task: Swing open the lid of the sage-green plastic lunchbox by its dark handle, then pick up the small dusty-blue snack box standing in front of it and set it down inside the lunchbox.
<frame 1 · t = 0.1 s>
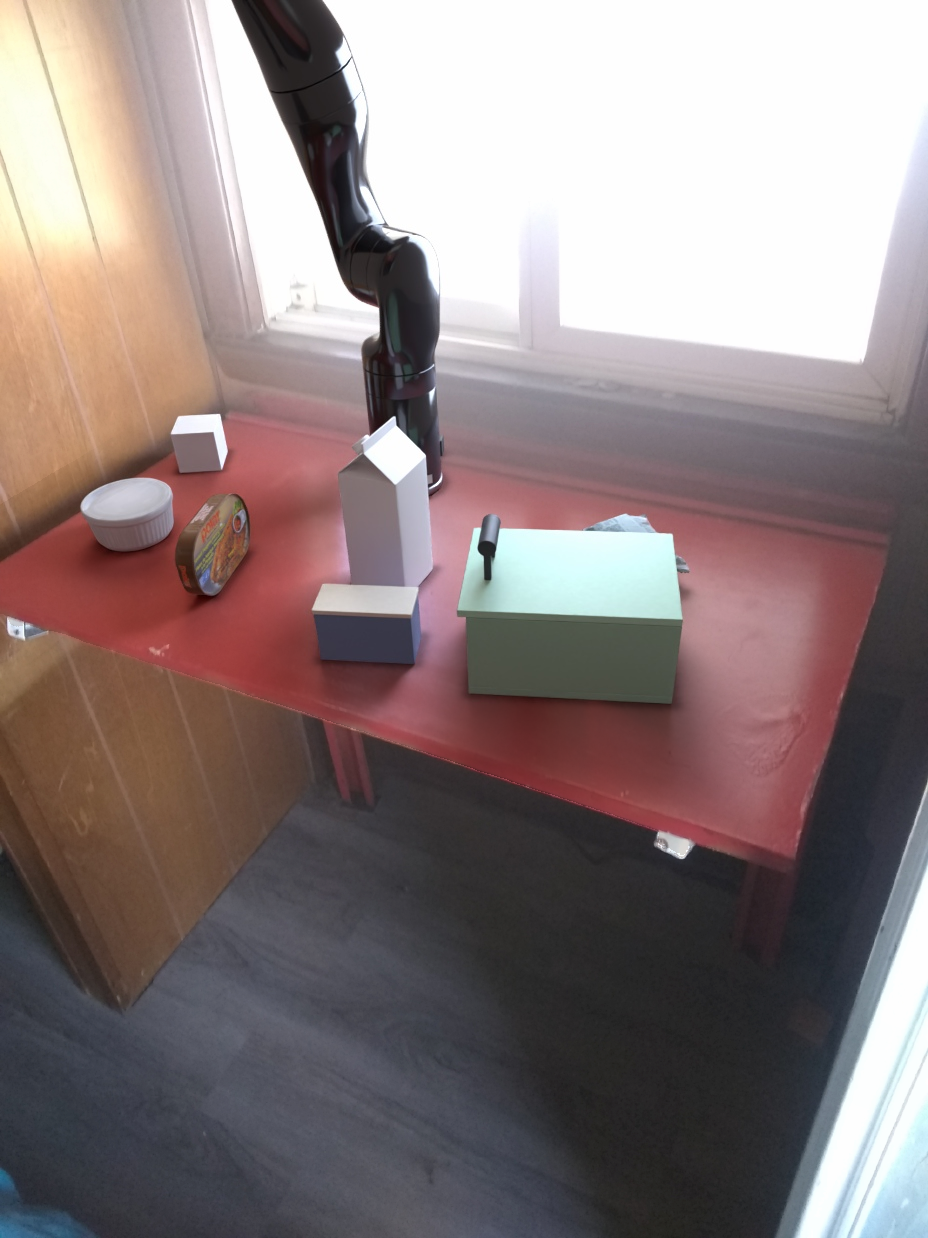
snack box: (371, 648, 98), on the table
white cube: (204, 463, 134), on the table
lunchbox: (570, 651, 96), on the table
lid: (571, 553, 89), point 12 cm above the table, hinge at 0.0°
tin: (221, 573, 111), on the table
ramekin: (136, 534, 118), on the table
packaged food: (633, 565, 109), on the table
milk carton: (393, 580, 108), on the table
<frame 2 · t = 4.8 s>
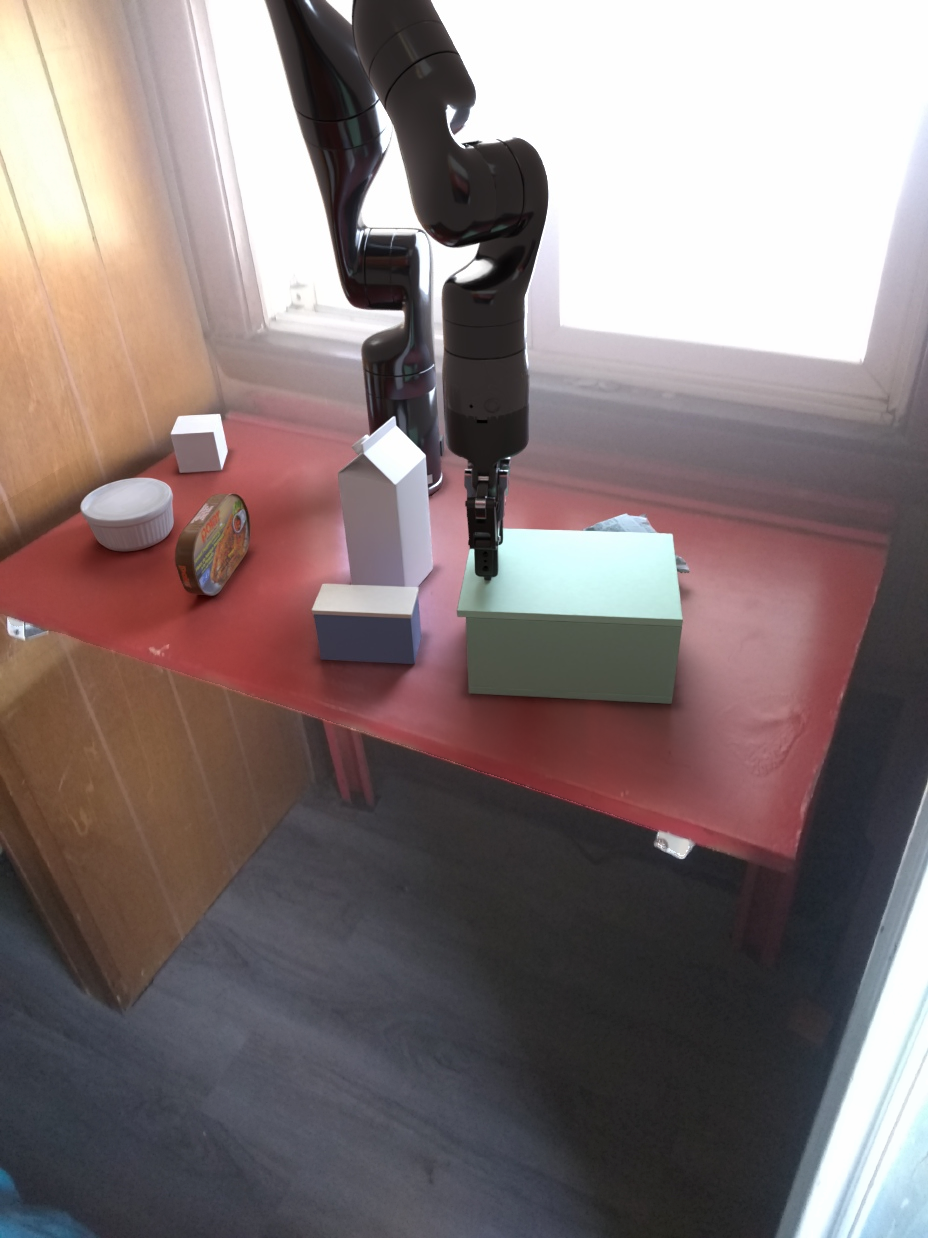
hand: (489, 558, 90), 11 cm above the table, tool pointing down, fingers closed on lid, 5 cm apart
lid: (571, 553, 89), point 12 cm above the table, hinge at 0.0°, touching gripper
everything else where it was.
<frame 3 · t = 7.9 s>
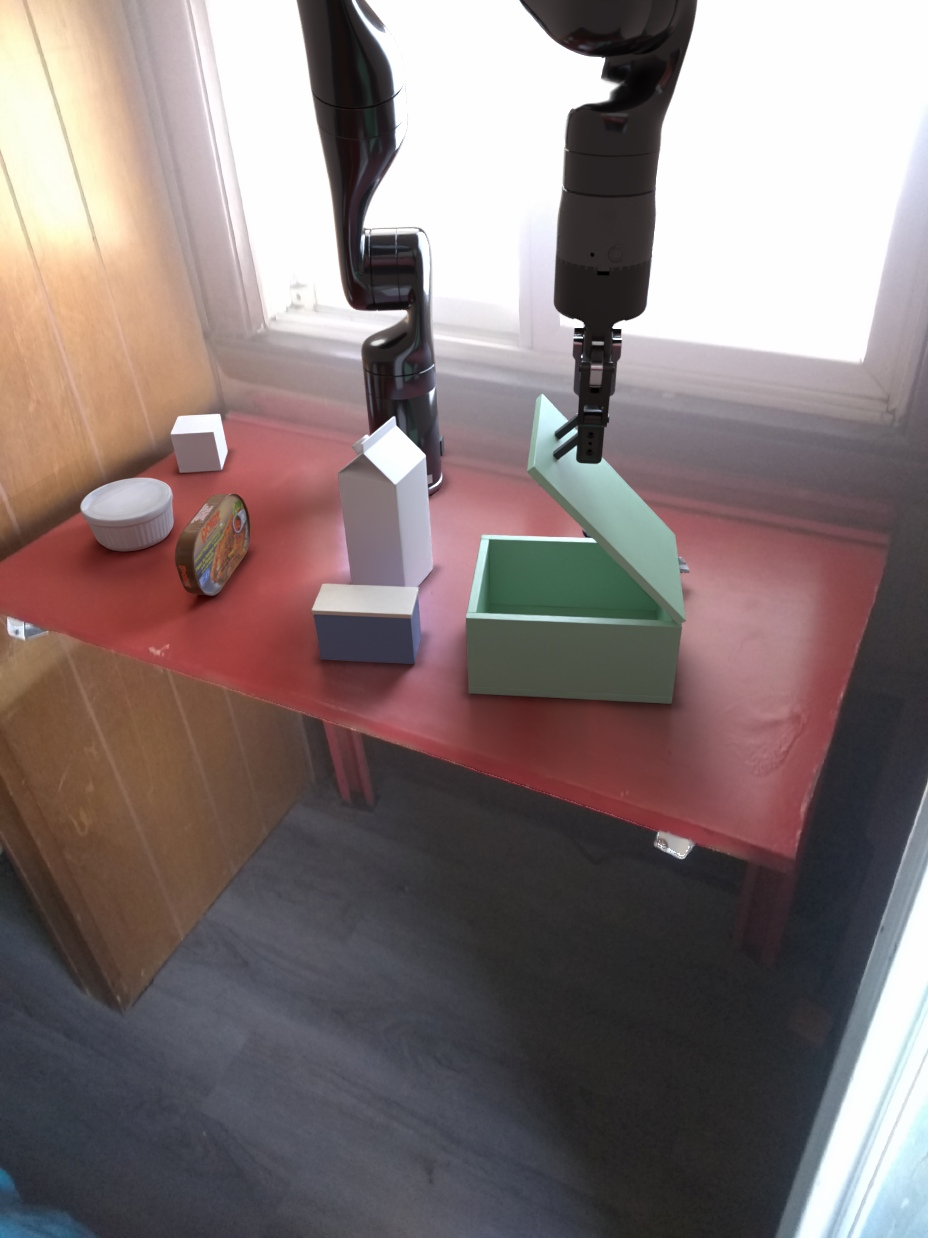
hand: (589, 445, 82), 24 cm above the table, tool pointing down, fingers closed on lid, 5 cm apart
lid: (628, 492, 84), point 19 cm above the table, hinge at 47.5°, touching gripper
everything else where it was.
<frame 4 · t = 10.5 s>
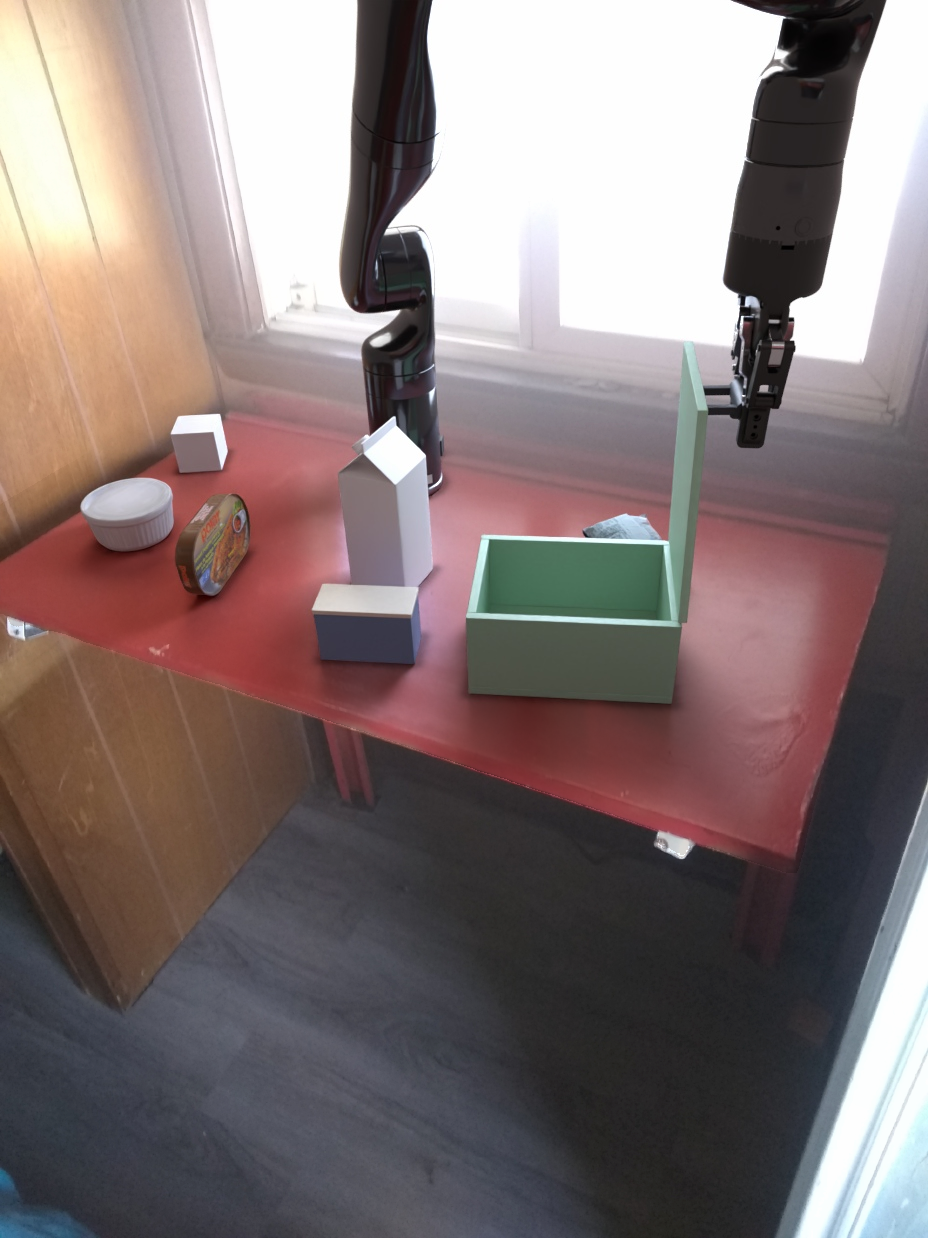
hand: (744, 430, 79), 25 cm above the table, tool pointing down, fingers closed on lid, 5 cm apart
lid: (711, 482, 83), point 20 cm above the table, hinge at 88.2°, touching gripper
everything else where it was.
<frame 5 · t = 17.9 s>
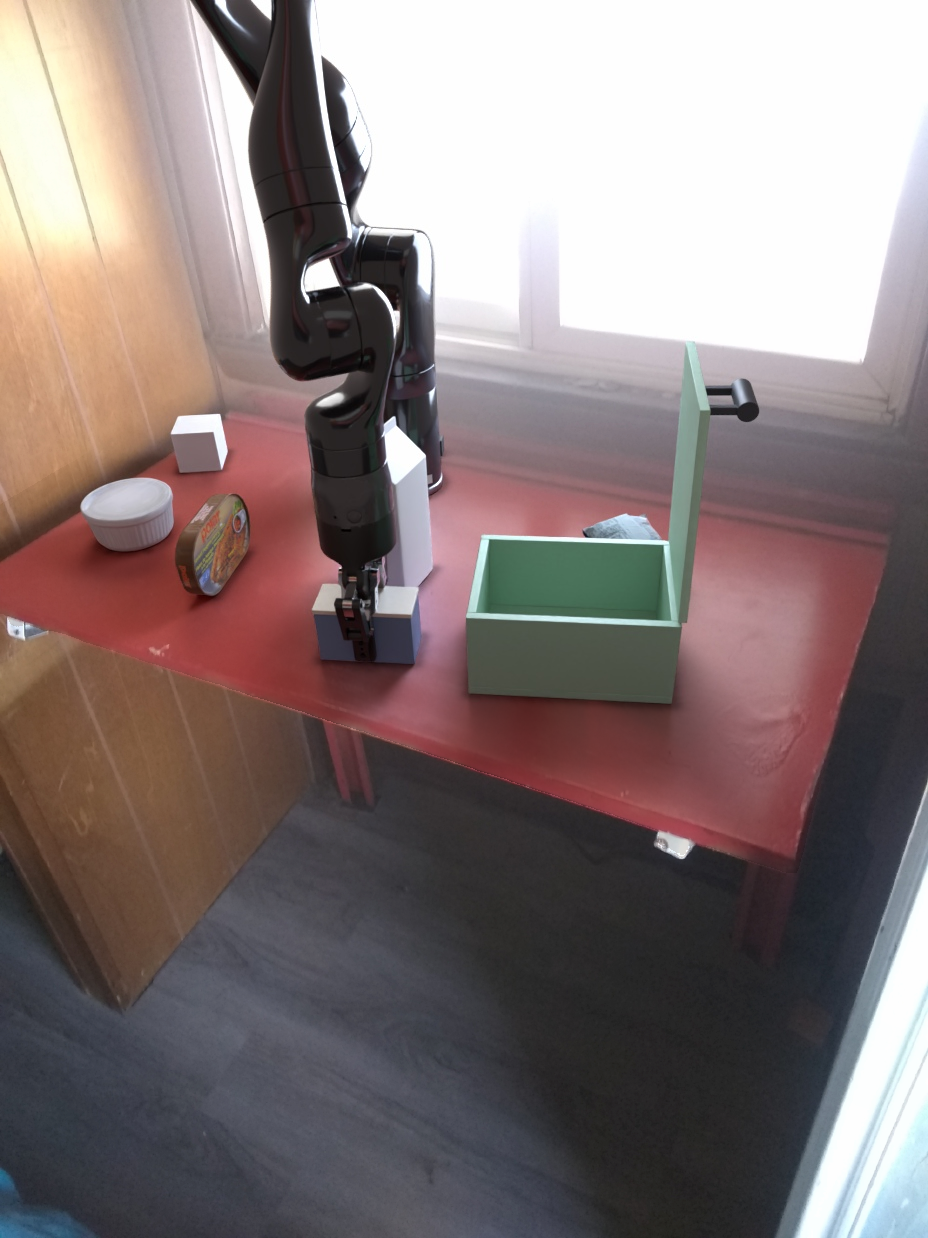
hand: (370, 643, 97), 1 cm above the table, tool pointing down, fingers closed on snack box, 4 cm apart
snack box: (371, 648, 98), on the table, touching gripper
lid: (712, 482, 83), point 20 cm above the table, hinge at 88.7°
everything else where it was.
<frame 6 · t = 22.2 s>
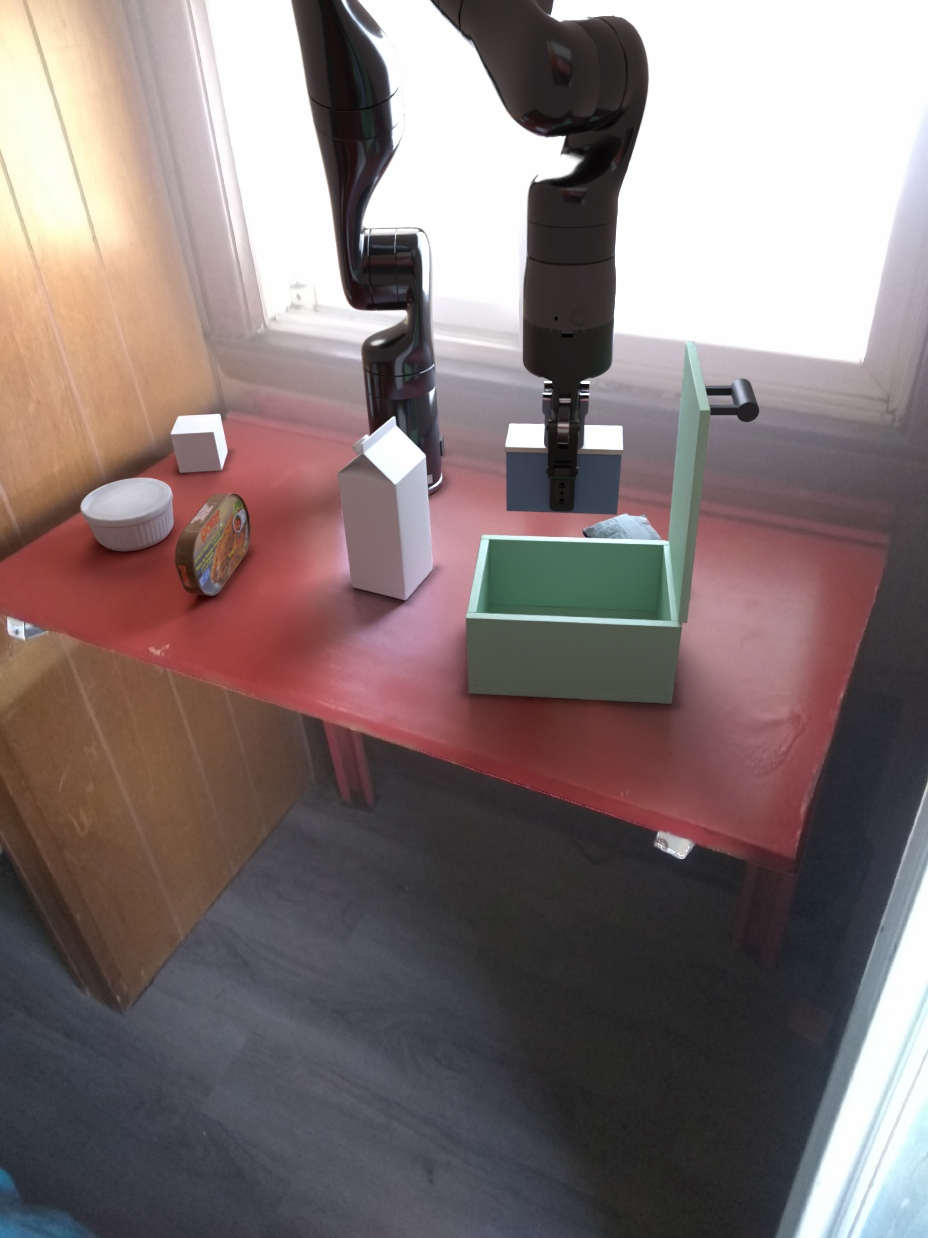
hand: (562, 494, 85), 19 cm above the table, tool pointing down, fingers closed on snack box, 4 cm apart
snack box: (562, 500, 85), point 18 cm above the table, touching gripper
everything else where it was.
when the fingers open (2 cm above the table, at t = 26.6 s): snack box stays where it is, resting on lunchbox.
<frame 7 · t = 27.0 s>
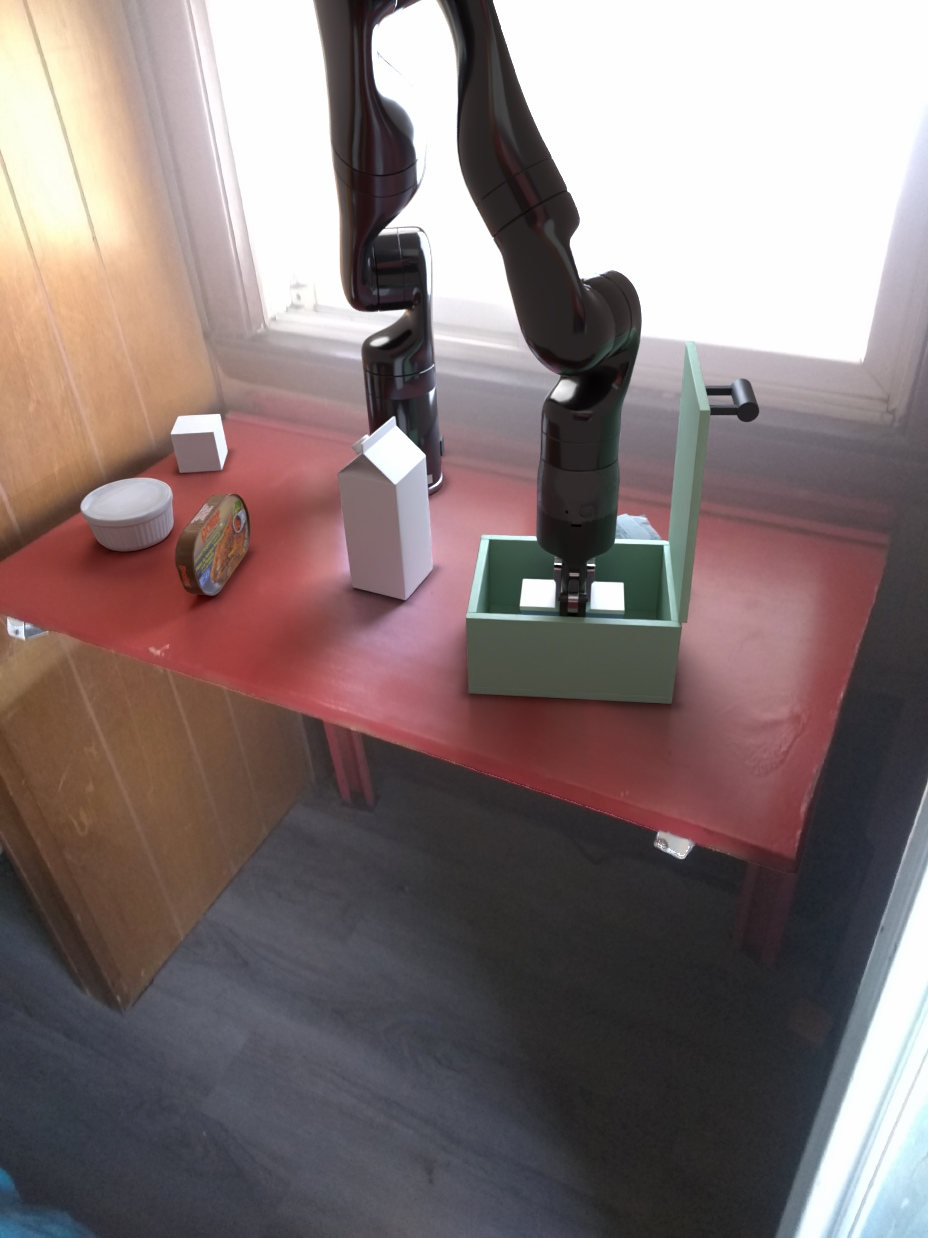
hand: (571, 639, 95), 2 cm above the table, tool pointing down, fingers open, 5 cm apart
snack box: (570, 645, 96), point 1 cm above the table, touching lunchbox
everything else where it was.
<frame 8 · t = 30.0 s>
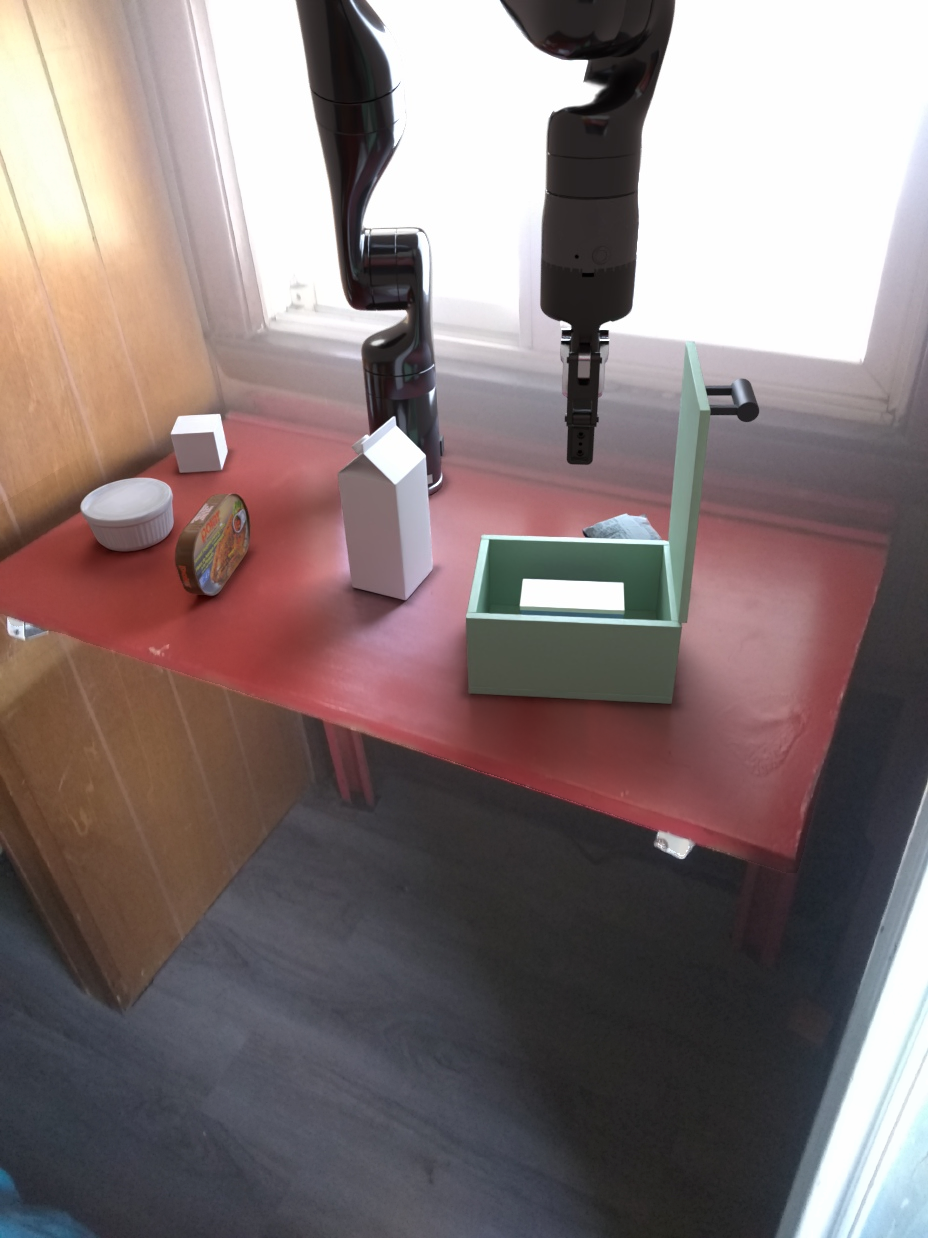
hand: (580, 440, 82), 24 cm above the table, tool pointing down, fingers open, 8 cm apart
nothing on the table moved.
at the end: lid at +89° (first picture: +0°); snack box inside the target area in the lunchbox (0.1 cm from its centre), point 0.9 cm above the lunchbox's base; the gripper is holding nothing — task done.
